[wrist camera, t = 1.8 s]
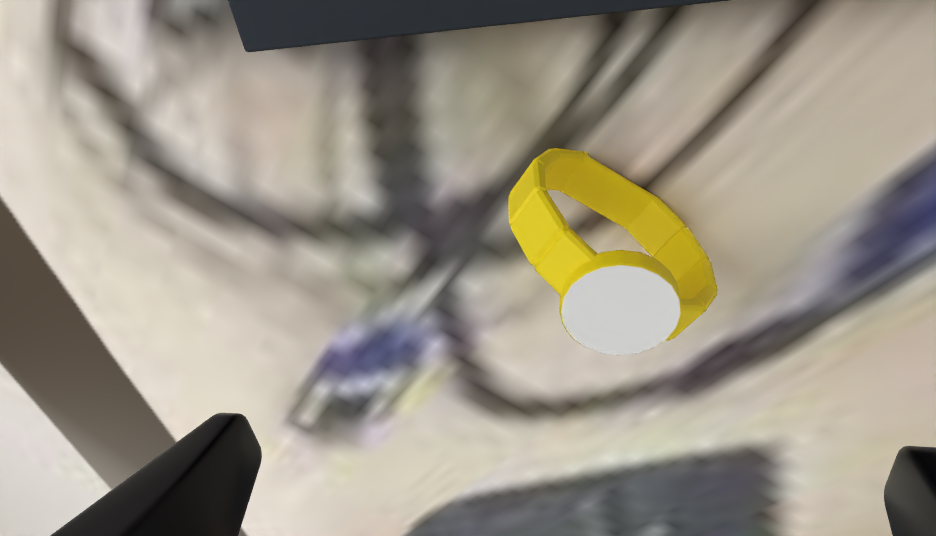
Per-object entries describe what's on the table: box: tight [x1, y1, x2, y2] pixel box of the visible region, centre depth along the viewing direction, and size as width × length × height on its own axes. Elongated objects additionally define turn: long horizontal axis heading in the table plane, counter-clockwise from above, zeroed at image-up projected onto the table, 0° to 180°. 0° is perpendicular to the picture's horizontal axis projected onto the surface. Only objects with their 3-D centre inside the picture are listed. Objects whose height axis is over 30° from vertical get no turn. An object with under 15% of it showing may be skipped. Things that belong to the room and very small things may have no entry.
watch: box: [509, 148, 717, 355], centre depth 17 cm, size 6×3×6 cm, turn 60°
